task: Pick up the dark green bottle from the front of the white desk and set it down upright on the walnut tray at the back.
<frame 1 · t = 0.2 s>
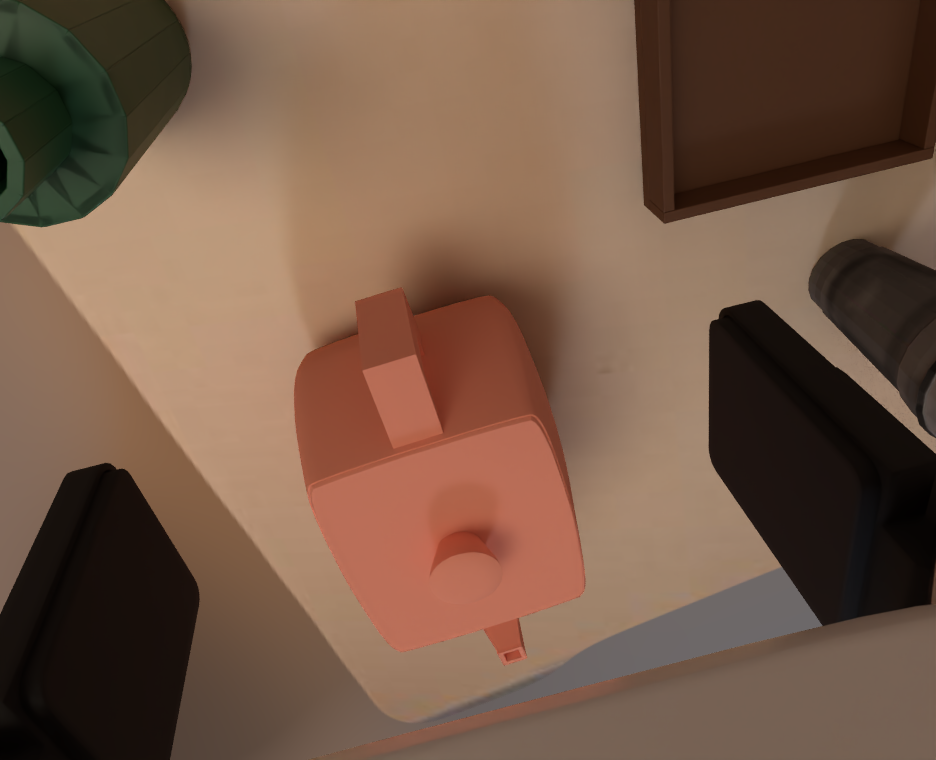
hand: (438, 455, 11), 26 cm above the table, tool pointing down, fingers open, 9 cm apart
bottle: (112, 51, 30), on the table
beverage cup: (842, 273, 43), on the table
teapot: (431, 403, 43), on the table
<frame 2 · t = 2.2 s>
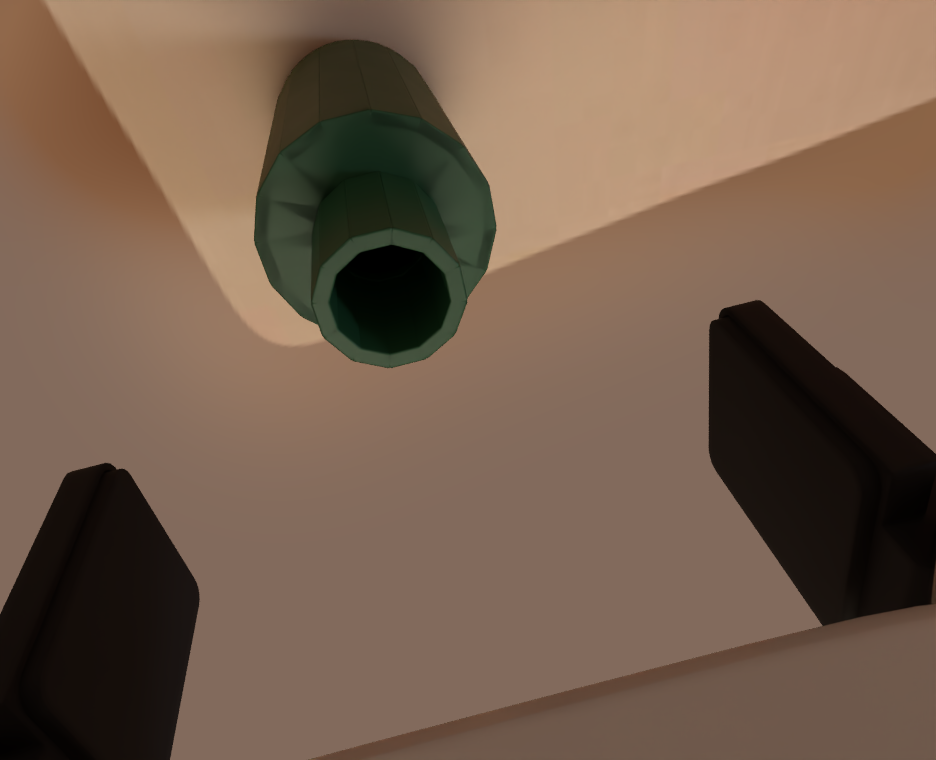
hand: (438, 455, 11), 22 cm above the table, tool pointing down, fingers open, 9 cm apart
bottle: (358, 125, 29), on the table
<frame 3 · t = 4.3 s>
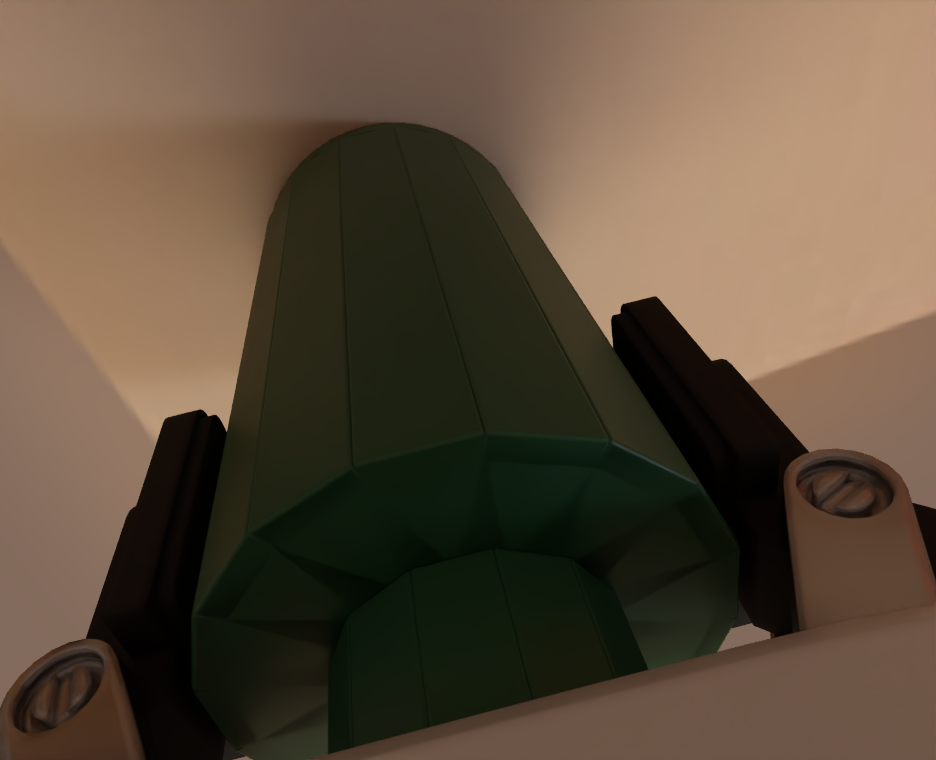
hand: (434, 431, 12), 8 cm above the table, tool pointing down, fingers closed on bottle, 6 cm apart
bottle: (397, 251, 18), on the table, touching gripper
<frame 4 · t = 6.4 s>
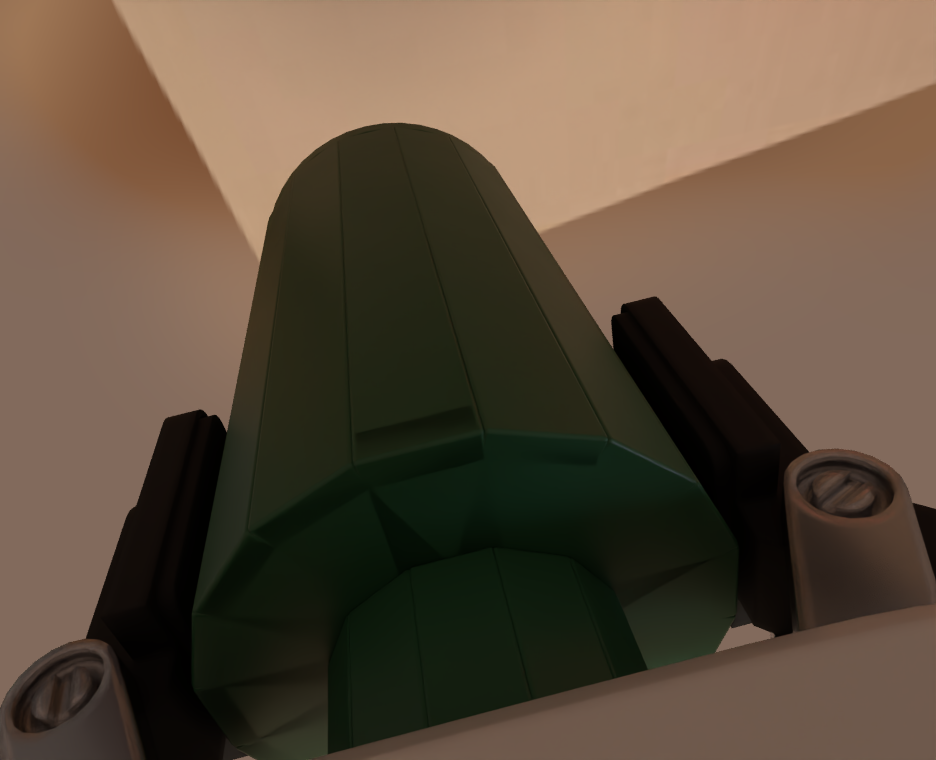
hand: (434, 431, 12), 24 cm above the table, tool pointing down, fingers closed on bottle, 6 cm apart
bottle: (397, 251, 18), point 16 cm above the table, touching gripper
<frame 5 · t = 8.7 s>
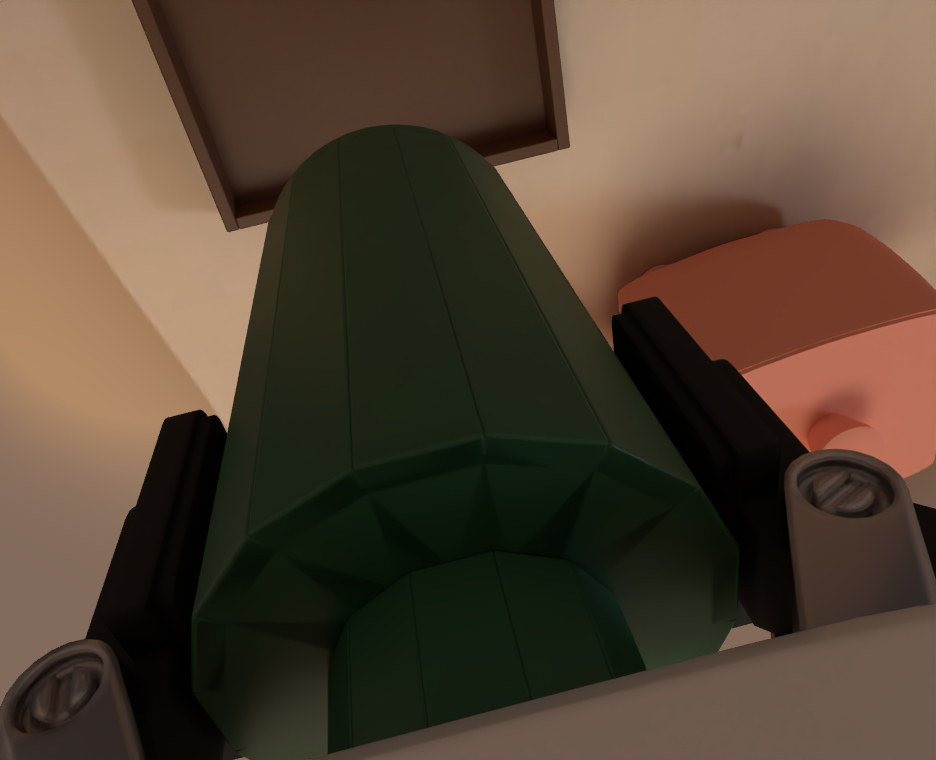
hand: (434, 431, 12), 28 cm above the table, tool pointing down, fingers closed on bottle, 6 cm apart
bottle: (398, 252, 18), point 20 cm above the table, touching gripper
teapot: (723, 312, 45), on the table
tray: (357, 24, 33), on the table
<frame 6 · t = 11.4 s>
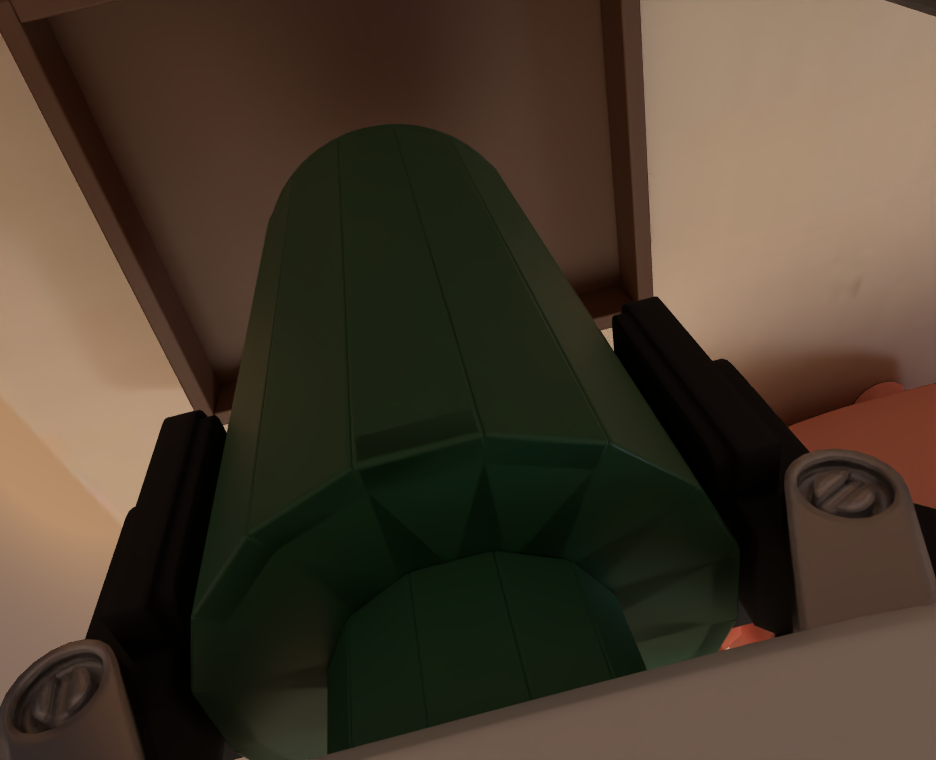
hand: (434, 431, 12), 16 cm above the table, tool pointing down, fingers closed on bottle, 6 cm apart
bottle: (398, 252, 18), point 8 cm above the table, touching gripper
teapot: (817, 472, 37), on the table
tray: (377, 164, 25), on the table
when the fingers open (8 cm above the table, at t = 13.5 s): bottle stays where it is, resting on tray.
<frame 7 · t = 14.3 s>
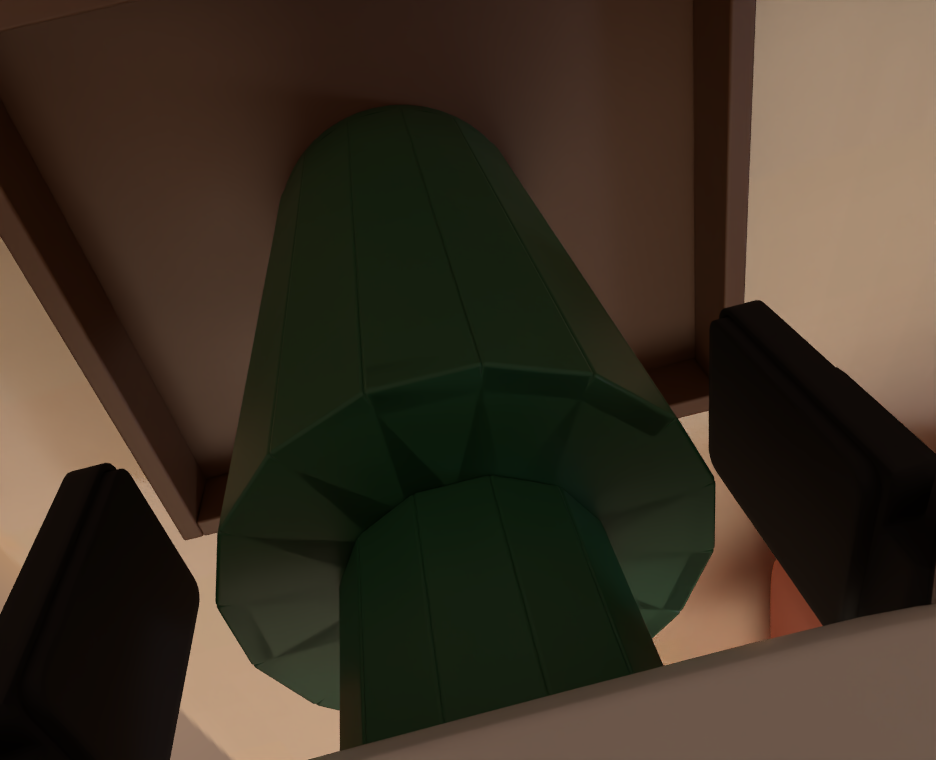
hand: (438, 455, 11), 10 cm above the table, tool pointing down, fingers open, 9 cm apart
bottle: (403, 229, 19), point 1 cm above the table, touching tray
teapot: (902, 555, 32), on the table
tray: (401, 218, 20), on the table
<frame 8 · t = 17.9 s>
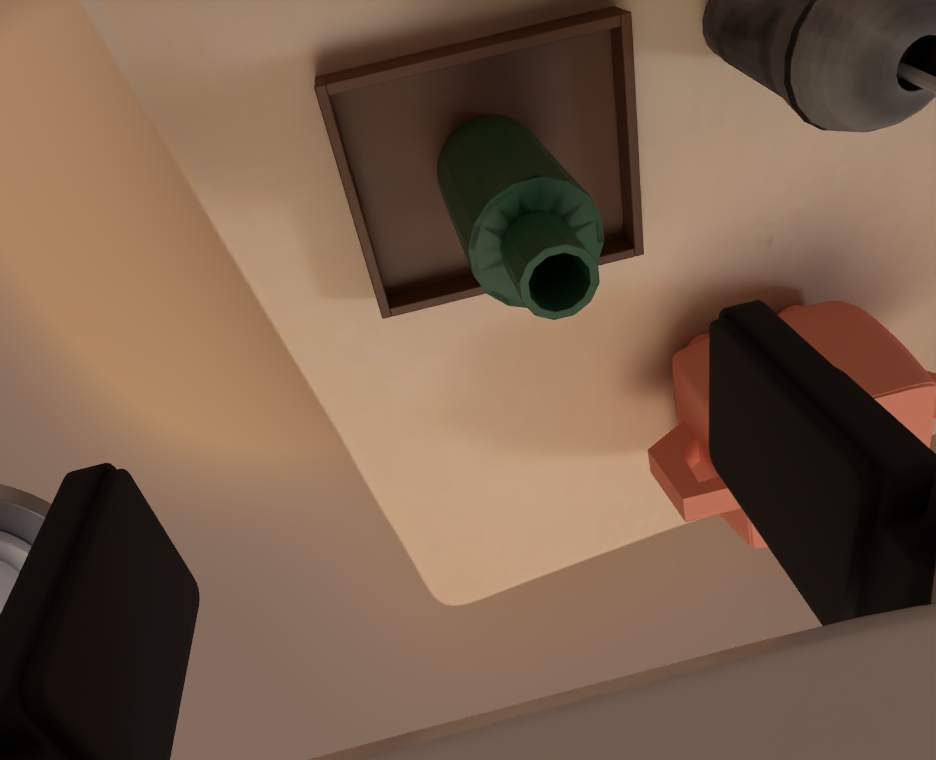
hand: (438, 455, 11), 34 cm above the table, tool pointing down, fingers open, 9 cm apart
bottle: (489, 169, 43), point 1 cm above the table, touching tray
beverage cup: (738, 16, 42), on the table
teapot: (753, 368, 56), on the table
tray: (487, 165, 44), on the table
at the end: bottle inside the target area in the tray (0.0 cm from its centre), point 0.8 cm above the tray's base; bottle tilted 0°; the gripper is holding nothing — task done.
